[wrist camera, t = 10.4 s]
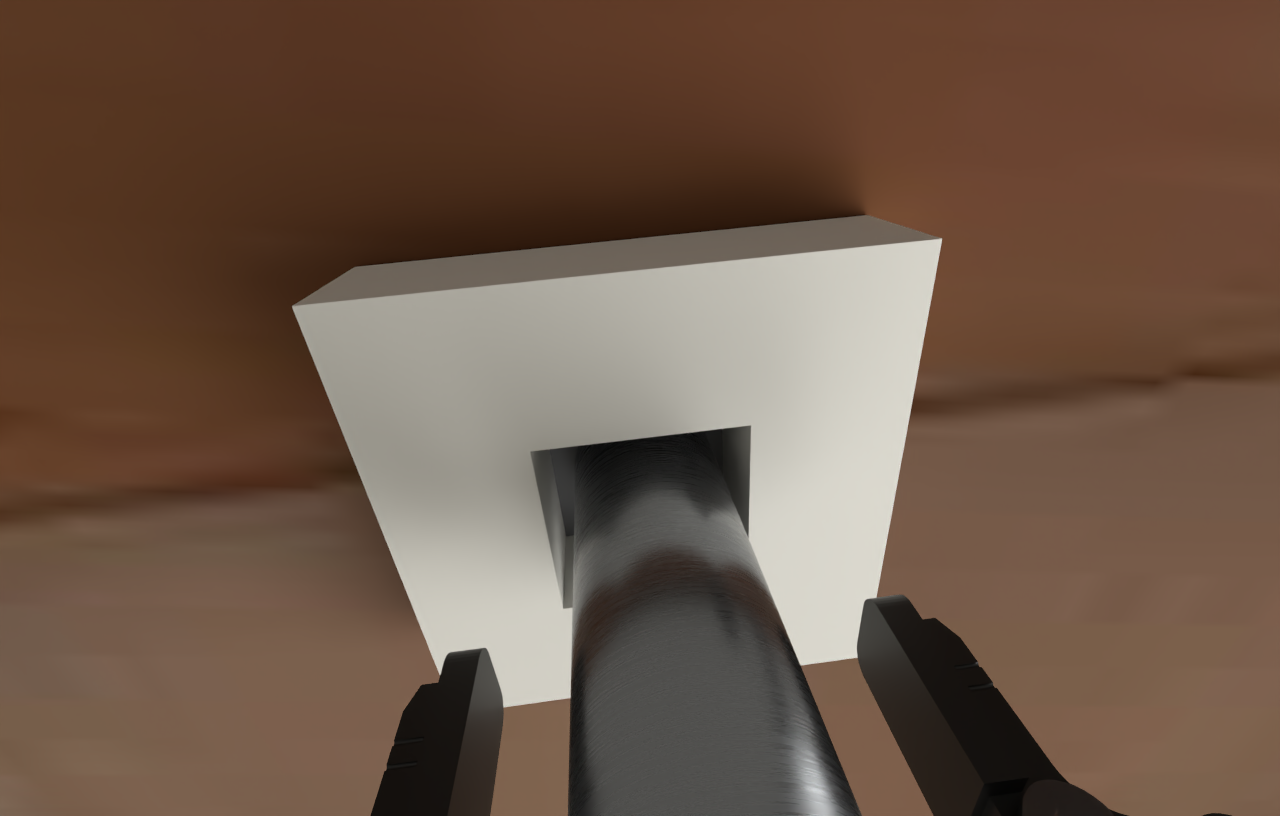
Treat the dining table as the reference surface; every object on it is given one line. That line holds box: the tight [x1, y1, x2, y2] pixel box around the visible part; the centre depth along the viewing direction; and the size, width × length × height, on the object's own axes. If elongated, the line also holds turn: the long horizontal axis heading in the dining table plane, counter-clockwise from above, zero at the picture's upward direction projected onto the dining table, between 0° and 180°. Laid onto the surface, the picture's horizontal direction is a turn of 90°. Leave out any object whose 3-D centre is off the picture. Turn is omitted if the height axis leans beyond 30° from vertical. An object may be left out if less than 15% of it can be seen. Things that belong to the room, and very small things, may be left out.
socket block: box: [292, 215, 942, 707], centre depth 16 cm, size 14×14×4 cm
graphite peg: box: [568, 431, 862, 816], centre depth 12 cm, size 4×4×12 cm
